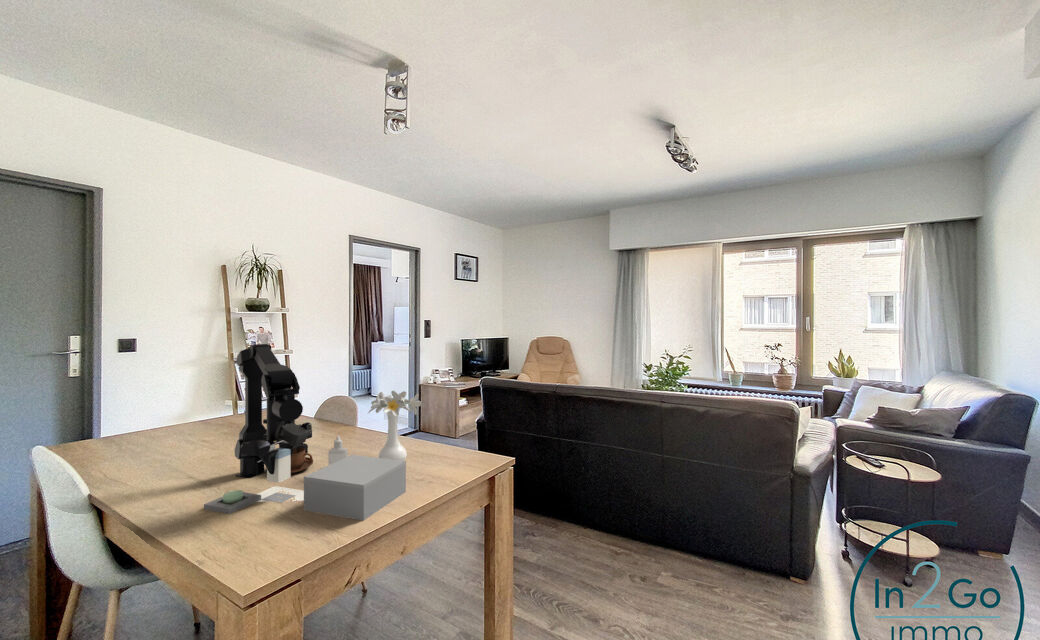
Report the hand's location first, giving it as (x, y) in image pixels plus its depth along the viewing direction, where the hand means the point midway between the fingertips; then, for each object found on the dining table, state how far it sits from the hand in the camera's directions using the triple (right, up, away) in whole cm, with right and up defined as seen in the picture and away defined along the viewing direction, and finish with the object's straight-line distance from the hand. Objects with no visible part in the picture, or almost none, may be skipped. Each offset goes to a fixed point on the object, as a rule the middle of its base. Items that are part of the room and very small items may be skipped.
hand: (278, 471), depth 117 cm
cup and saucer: (-8, -7, +22) cm, 24 cm away
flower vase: (+23, -8, +28) cm, 37 cm away
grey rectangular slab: (+23, -8, -2) cm, 24 cm away
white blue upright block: (0, -2, 0) cm, 2 cm away
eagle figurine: (-9, -8, +26) cm, 29 cm away
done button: (-10, -6, -4) cm, 12 cm away
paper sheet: (0, -8, 0) cm, 8 cm away
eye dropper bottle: (+8, -8, +19) cm, 22 cm away
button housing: (-10, -8, -4) cm, 13 cm away
